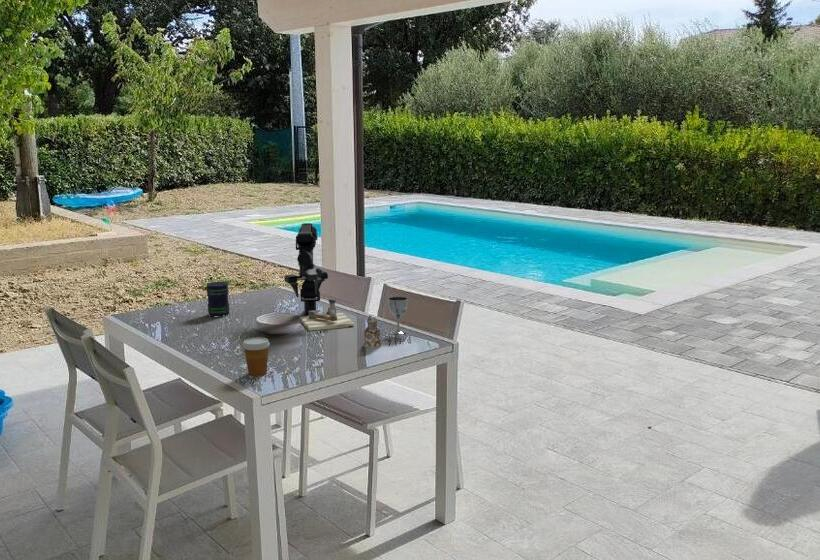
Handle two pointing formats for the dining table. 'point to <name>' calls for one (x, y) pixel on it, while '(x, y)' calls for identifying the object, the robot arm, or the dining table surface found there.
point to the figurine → (372, 334)
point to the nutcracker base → (326, 322)
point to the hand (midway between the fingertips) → (307, 295)
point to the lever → (323, 316)
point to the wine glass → (398, 309)
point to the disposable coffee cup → (256, 355)
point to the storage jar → (218, 298)
